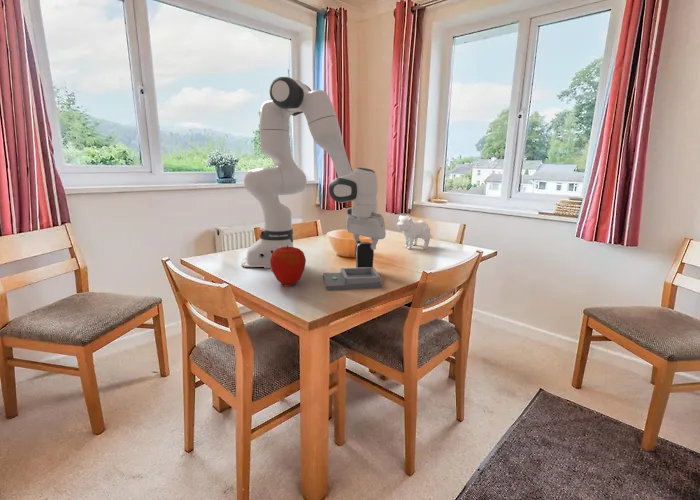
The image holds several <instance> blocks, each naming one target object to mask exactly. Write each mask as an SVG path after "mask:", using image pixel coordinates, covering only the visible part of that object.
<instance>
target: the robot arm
mask: <svg viewBox="0 0 700 500" xmlns="http://www.w3.org/2000/svg"><path fill="white" fill-rule="evenodd" d="M269 97H270V100H269V99H268V100H266V101H264V102H263V103H262V104H261V107H260V111H259V112H260V115H259V135H260V136H259V140H260V141H259V143H260V150H261V152H262V153H263V155H264V156H266V157H267V158H269V159H271V161H272V162H273V164H274V167H256V168H253V169H249V170H248V171H247V172H246V173H245V176H244V180H243V185H244V187H245V190H246V191H247V192H248V193H249V194H250V195H251V196H253V197H254V198H255V199H256V200H257V202H258V203H259V205H260V208H261V210H262V215H263V222H264V228H260V229H259V231H258V232H259V239H258V240H257V241H255V242H254V243H253V244H251V245H250V246H249V248H247V252H246V257H244V258H243V259H242V261H241V264H242V265H241V267H243V266H244V267H243V268H245V267H264V268H263V269H272V268H271V263H270V260H271V256H272V253H273V252H274V251H275V250H276V249H278V248H281V247H287V245H288V247H294V229H293V226H292V225H293V223H292V221H293V220H292V211H291V209H290V208H289V207H288V206H287V205H285V204H283V203H281V201H280V198H279V196H288V195H295V194H299V193H302V192H303V191H304V190H305V189H306V187H307V182H308V181H307V180H308V179H307V176H306V174H305V172H304V170H302V169H301V168H300V167H299V166H298V165H297V164H296V161H294V158H293V156H292V153H291V146H290V144H291V143H290V131H289V130H290V129H289V128H290V127H289V125H290V124H289V122H290V118H291V116H292V117H296V116H298V115H300V114H303V115H304V116H305V119H306V122H307V126H308V129H309V132H310V134H311V137H312V139H313V140H314V142H315V144H316V145H317V146H319V148H321V149H323V150H324V151H325V152H326V154H328V155H329V157H330V158H331V161H332V163H333V167H334V170H335V173H336V175H337V177H336V178H334V179H333V180H331V182H330V183H329V186H328V194H329V197H330V198H331V199H332V200H333V201H334V202H337V203H341V204H343V203H349V202H353V206H352V207H350V208H346V211H345V212H346V215H347V217H346V230H347V232H348V233H349V234H352V236H353V239H354V241H355V242H354V245H355V246H356V244H357V243H361V242H362V241H361V238H360V236H361V237H366V238H369V239H371V243H372V244H371V245H370V249H371V250H377V244H378V242H379V240H384V239H385V238H386V234H387V233H386V223H385V218H384V217H383V215H382V214H380V213H378V200H377V195H378V177H377V173H376V171H374V169H370V168H366V167H355V169H354V170H353V168H352V166H351V162H350V159H349V157H348V154H347V151H346V148H345V145H344V139H343V137H342V133H341V132H342V131H341V128H340V123H339V119H338V116H337V113H336V110H335V108H334V105H333V103H332V101H331V98H330V96H329V95H328V93H327V92H326V91H324V90H322V89H313V90H312V89H311V88H310V87H309V86H308V85H307V84H305V83H303V82H302V81H300V80H299V79H294V78H291V77H289V76H278V77H277V78H275V79H274V80H272V82H271V84H270V86H269Z"/></svg>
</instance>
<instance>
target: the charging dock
mask: <svg viewBox="0 0 700 500" xmlns="http://www.w3.org/2000/svg"><path fill="white" fill-rule="evenodd" d="M322 278H323V281H324V285H325V289H326V291H338V290H340V291H342V290H360V289H361V290H363V289H383V283H382V281H381V278H382V277H381V276H380V274H379V273H378V271H377V270H376V269H375V267H374V266H373V267H357V268H356V267H342V268H340V272H324V273H322Z"/></svg>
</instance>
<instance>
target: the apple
mask: <svg viewBox="0 0 700 500" xmlns="http://www.w3.org/2000/svg"><path fill="white" fill-rule="evenodd" d="M306 262H307V258H306V256H305V253H304V251H303V250H302V249H300V248H297V247H295V246H293V247H288V245H287V247H281V248H278V249H276V250H275V251H274V252H273V253H272V256H271V260H270V263H271V268H270V269H271V271H272V273H273V275H274V277H275V279H276V280H277V282H279V283H280V284H281V285H282V286H284V285H286V286H285V287H290V285H291V286H293V285H296V283H297V282H299V281H300V280H301V278H302V276H303V273H304V272H305V267H306Z"/></svg>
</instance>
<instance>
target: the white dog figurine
mask: <svg viewBox="0 0 700 500" xmlns="http://www.w3.org/2000/svg"><path fill="white" fill-rule="evenodd" d="M395 226H397V228H398V229H399V230H400V231H402V234H403V235H404V237H405V239H404V243H405V244H404V245H403V248H404V247H405V248H404V249H406V250H407V249H408V250H407V251H410V250H412V248H413V245H415V246H417V244H418V243H417V242H418V239H421V240H423V241H424V242H423V245H421V249H422V248H423V249H422V250H426V249H428V248H429V244H430V241H431V240H430V239H431V238H433V237H434V236H433V235H431V228H430V226H429V223H427V222H426V221H425V220H422V219H419V220H414V219H413V218H412V216H408V215H402V214H400V215H399V216H398V220H397V223H396V224H394V227H395ZM425 248H426V249H425ZM409 249H410V250H409Z"/></svg>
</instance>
